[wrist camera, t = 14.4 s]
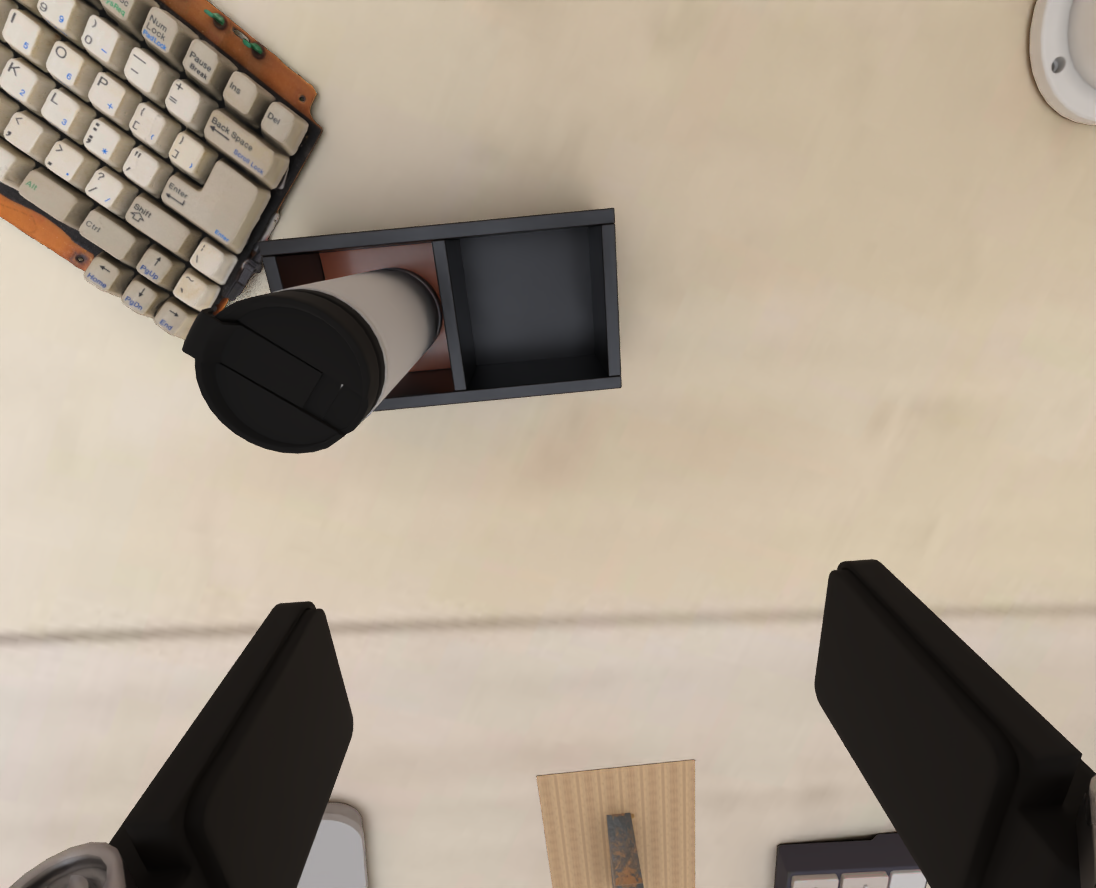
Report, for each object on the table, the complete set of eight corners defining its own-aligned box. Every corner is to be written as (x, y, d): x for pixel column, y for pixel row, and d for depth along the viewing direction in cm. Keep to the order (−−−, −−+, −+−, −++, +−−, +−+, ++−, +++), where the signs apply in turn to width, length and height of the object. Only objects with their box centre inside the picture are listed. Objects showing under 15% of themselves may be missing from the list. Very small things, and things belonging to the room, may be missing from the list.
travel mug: (377, 245, 37) (223, 250, 18) (460, 303, 38) (397, 363, 20) (333, 321, 38) (150, 398, 20) (414, 374, 40) (315, 492, 21)
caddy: (307, 240, 37) (256, 241, 30) (597, 213, 37) (614, 207, 30) (341, 387, 41) (302, 418, 34) (605, 362, 41) (621, 388, 34)
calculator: (790, 880, 58) (936, 873, 57) (775, 838, 62) (911, 831, 61) (784, 943, 62) (921, 937, 61) (770, 899, 66) (898, 893, 65)
